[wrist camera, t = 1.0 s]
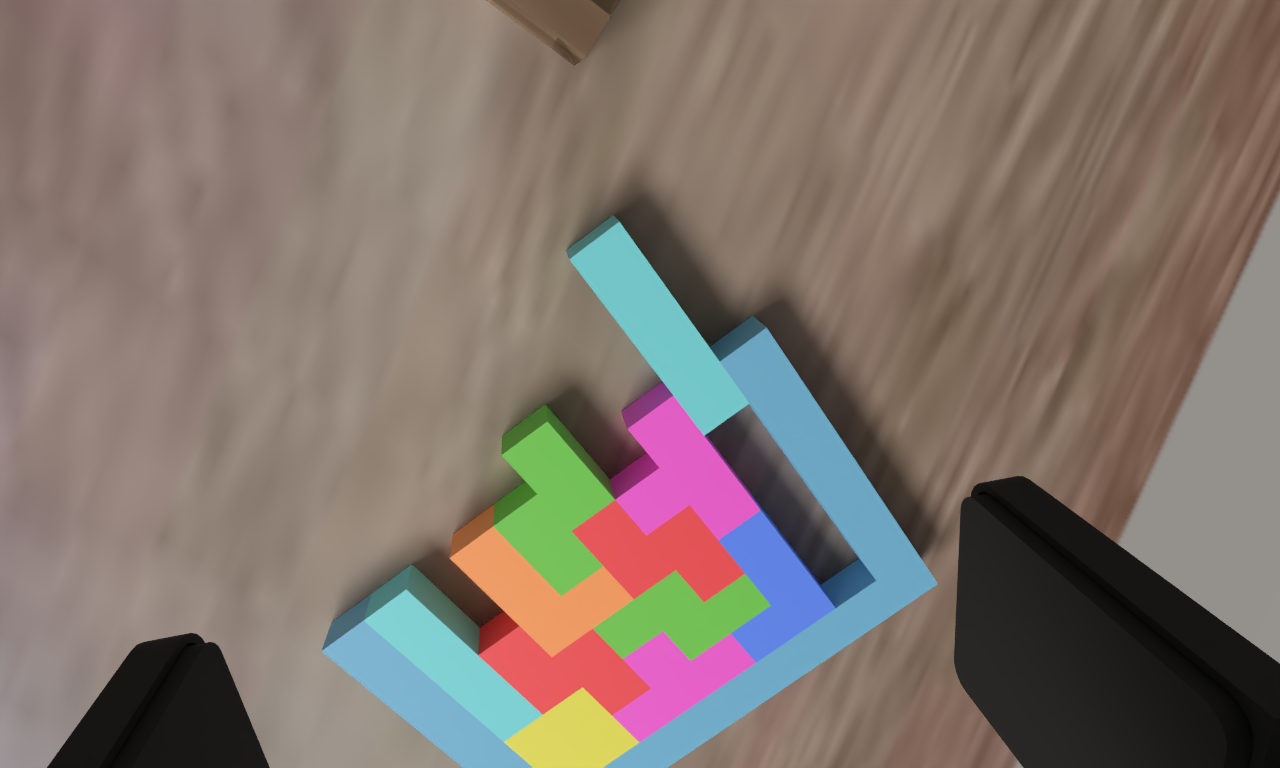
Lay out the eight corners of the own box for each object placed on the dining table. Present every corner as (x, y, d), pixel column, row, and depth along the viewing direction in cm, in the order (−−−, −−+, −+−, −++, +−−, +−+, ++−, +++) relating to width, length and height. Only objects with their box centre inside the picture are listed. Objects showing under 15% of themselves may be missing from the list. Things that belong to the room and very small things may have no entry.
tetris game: (913, 557, 46) (658, 178, 35) (937, 584, 43) (670, 183, 33) (553, 803, 48) (213, 514, 38) (555, 843, 45) (191, 544, 35)
